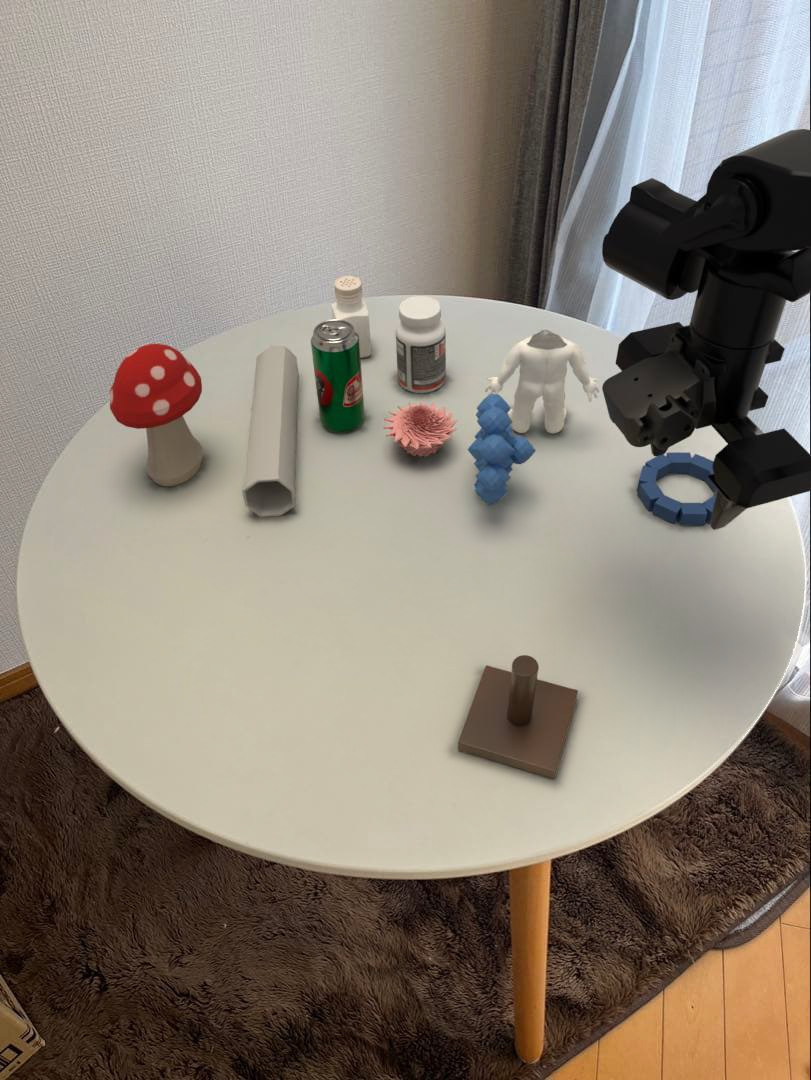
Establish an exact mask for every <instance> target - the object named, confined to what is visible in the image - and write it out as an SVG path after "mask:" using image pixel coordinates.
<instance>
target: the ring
mask: <svg viewBox="0 0 811 1080" xmlns="http://www.w3.org/2000/svg"><path fill="white" fill-rule="evenodd" d="M713 462H714V460H711V459H710V458H708V457H707V458H706V457H704V456H702V455H700V454H697V453H695V454H694V455H693V456H692V455H691V452H678V451H677V452H671V451H669V452H667V451H666V454H663V455H660V456H654V457H653V458H651V459H649V460H647V461H646V462H645V464H644V465H642V468H641V472H640V474H639V479H638V483H637V487H636V492H637V496H638V498H639V500H640V501H641V502H642V504H643V506H644V507H645V508H646V510H647V511H652V515H654V516H656V517H658V518H661V519H663V520H665V521H667V522H670V523H672V524H675V523H676V522H677V520H678V523H679V526H705V523H707V524H709V525H711V516H712V511H713V507H714V503H715V499H716V495H717V491H718V489H717V488H716V487H715V486H714V485H713V483H712V482H711V481H710V480H709V479H708V477H707V476H708V475H711V474H714V472H713V468H712V465H713ZM669 474H672V475H679V474H680V475H684V474H687V475H690V476H693V477H695V478H697V479H699V480H702V481H704V482H705V483H706V484H707V486H708V487H709V488H710V489H711V491H712V492H713V493H714V494H713V496H712V497H710V498H708V499H707V500H704V501H703V502H681V501H678V500H676V499H674V498H672V497H670V496H667V495H665V494H664V492H663V491H662V490H661V488H660V487H659V485H658V484H657V483H656V482H657V481H658V480H660V479H662V478H663V477H665V476H667V475H669Z"/></svg>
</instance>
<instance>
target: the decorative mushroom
mask: <svg viewBox="0 0 811 1080" xmlns="http://www.w3.org/2000/svg"><path fill="white" fill-rule="evenodd" d="M202 392H203V384H202V376H201V375H200V374H199V372H198V370H197V369H196V367H195V366H194V365H193V364H192V363H191V362H190V361H189V360H188V358H186V357H185V356H184V355H183V353H182V352H181V351H179V350H178V349H176V348H174V347H172V346H170V345H168V344H164V343H163V344H162V343H149V344H145V345H142V346H140V347H138V348H136V349H134V350H133V351H131V352H129V353H128V355H127V356H126V357H124V359H123V360H122V361H121V363H120V364H119V367H118V368H117V370H116V372H115V375H114V380H113V383H112V385H111V387H110V390H109V410H110V411H111V413H112V415H113V417H114V419H115V420H116V421H117V422H118V423H119V424H121V425H123V426H124V427H127V428H131V429H136V430H138V429H141V430H142V429H145V430H146V441H147V453H148V454H147V460H146V469H145V470H146V472H147V474H148V476H149V477H150V478H151V480H152V481H153V482H154V483H156V484H157V485H159V486H160V487H161V486H162V487H175V486H178V485H181V484H183V483H185V482H187V481H189V480H190V479H191V478H193V477H194V476H195V475H196V474H197V473H198V471H199V470H200V469H201V466H202V463H203V454H204V453H203V449H204V448H203V446H202V444H201V442H200V441H198V439H197V438H196V437H194V435H193V433H192V432H191V430H190V428H189V425H188V424H187V422H186V419H185V418H184V415H186V414H187V413H189V411H191V410H192V409H193V408H194V407H195V405H196V404H197V403H198V402H199V400H200V397H201V395H202Z"/></svg>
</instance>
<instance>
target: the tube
mask: <svg viewBox="0 0 811 1080" xmlns="http://www.w3.org/2000/svg"><path fill="white" fill-rule="evenodd" d="M254 370H255V371H254V379H253V380H254V382H253V392H252V393H253V394H252V403H251V415H250V425H249V434H248V436H249V437H248V446H247V457H246V469H245V479H244V485H243V486H242V487H241V491H242V492H241V493H242V498H243V502H244V506H245V507H246V508H247V509H249V510H250V511H251V512H253V513H254V514H256V515H257V516H258V517H260V518H264V517H281V516H282V515H284V514H285V513H287V512H289V511H290V510H291V509H293V508H294V507H296V506H297V500H296V495H295V476H296V475H295V474H296V473H295V472H296V445H297V443H296V442H297V419H298V418H297V415H298V389H299V387H298V385H299V367H298V360H297V356H296V355H295V354H294V353H293V352H292V351H291V350H290V349H288V348H287V347H286V346H283V345H273V344H271V345H270V346H268V347H267V348H266V349H264V350H263V351H261V353H259V354H258V355H257V356H256V359H255V369H254Z"/></svg>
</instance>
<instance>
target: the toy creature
mask: <svg viewBox="0 0 811 1080" xmlns="http://www.w3.org/2000/svg"><path fill="white" fill-rule="evenodd" d="M568 363H569V365H570V367H571V370H572V372H573V374H574V376H575V377H576V378H577V380H578V381H579V383H581V384H582V389H583V392H584V393H586V394H587V399H588V402H590V403H591V402H592V400H593V398H592V395H593V396H594V399H597V398H598V394H599V393H600V388H599V387H598V385H597V383H596V382H597V381H599V379H598V378H594V377H590V375H589V369H588V365H587V363H586V361H585V357H584V354H583V352H582V350H581V349H580V348H579V346H578V345H577V343H576V342H573V341H571V340H569V339H566V338H565V337H563V336H560V335H559V334H558V333H554V332H552V331H551V330H549V329H542V330H540V331H539V332H537V333H534V334H532V335H530V336H528V337H526V338H524V339H522V340H521V341H518V342H517V343H516V344H515V345H514V346H513V347H512V348H511V349H510V350H509V352H508V353H507V355H506V357H505V360H504V361H503V362H502V365H501V368H500V371H499V375H498V376H492V377H488V378H487V381H490V383H489V384H488V385H487V386H486V388H485V389H484V392H485V393H487V395H486V397H487V396H489V395H491V394H497V395H499V393H500V392H502V390H503V388H504V384H505V383H506V382H507V381H508V380H510V378H511V377H512V376H513V375H514V373H515V372H516V370H517V368H518V367H519V377H518V383H517V386H516V389H515V392H514V396H513V399H514V400H513V408H511V409H510V411H509V412H508V415H509V417H510V419H511V420H512V423H511V424H510V427H511V428H512V429H513V430H514V431H515V432H516V433H519V434H524V433H527V432H528V431H529V429H530V427H531V421H532V414H533V410H534V407H535V403H536V402H537V400H538V399H539V398H540V397H542V400H543V408H544V411H543V412H544V428H545V430H546V432H547V433H548V434H557V433H559V432H561V431H562V429H564V426H565V419H566V418H567V414H568V412H567V408H566V407H565V404H566V390H565V389H566V388H565V384H566V376H567V372H568Z"/></svg>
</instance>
